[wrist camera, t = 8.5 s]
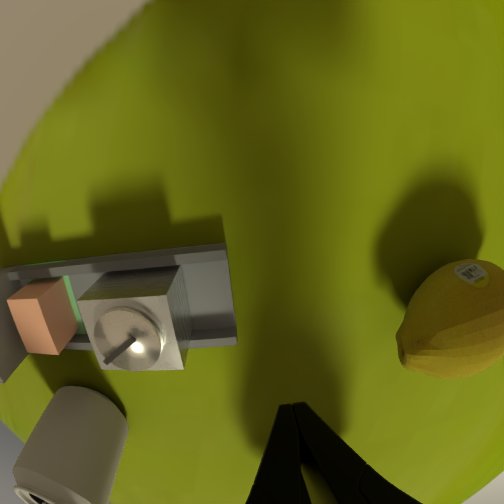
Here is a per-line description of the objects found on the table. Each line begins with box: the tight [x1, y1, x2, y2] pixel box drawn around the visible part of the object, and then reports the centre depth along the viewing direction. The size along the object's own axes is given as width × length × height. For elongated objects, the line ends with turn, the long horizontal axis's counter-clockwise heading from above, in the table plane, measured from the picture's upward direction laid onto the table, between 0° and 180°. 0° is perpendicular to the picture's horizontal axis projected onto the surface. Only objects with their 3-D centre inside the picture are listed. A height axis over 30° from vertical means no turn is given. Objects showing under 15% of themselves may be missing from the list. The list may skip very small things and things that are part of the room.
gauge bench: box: [0, 243, 237, 383], centre depth 16 cm, size 18×6×6 cm, turn 95°
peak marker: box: [7, 277, 79, 355], centre depth 17 cm, size 3×4×4 cm
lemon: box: [396, 259, 504, 379], centre depth 16 cm, size 11×8×8 cm
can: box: [13, 386, 129, 504], centre depth 16 cm, size 8×8×12 cm
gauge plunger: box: [77, 265, 193, 371], centre depth 16 cm, size 5×4×5 cm
